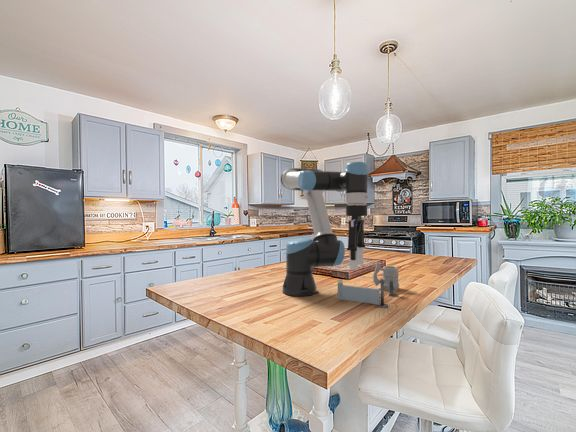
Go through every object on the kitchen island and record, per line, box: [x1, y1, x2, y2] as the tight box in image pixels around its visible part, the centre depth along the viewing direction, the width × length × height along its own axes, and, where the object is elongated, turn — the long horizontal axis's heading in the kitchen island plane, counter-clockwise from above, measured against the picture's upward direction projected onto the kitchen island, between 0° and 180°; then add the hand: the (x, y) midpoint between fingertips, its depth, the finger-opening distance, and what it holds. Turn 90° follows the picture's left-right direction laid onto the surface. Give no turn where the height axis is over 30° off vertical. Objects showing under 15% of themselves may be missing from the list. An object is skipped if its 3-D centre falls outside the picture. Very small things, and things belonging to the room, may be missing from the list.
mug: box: [372, 262, 400, 291], centre depth 128 cm, size 8×12×12 cm, turn 87°
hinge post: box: [376, 278, 389, 309], centre depth 104 cm, size 4×4×10 cm
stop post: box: [388, 280, 399, 298], centre depth 118 cm, size 3×4×6 cm
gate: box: [337, 279, 381, 305], centre depth 108 cm, size 16×2×7 cm, turn 63°
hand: (356, 266), depth 102 cm, fingers open, 9 cm apart
